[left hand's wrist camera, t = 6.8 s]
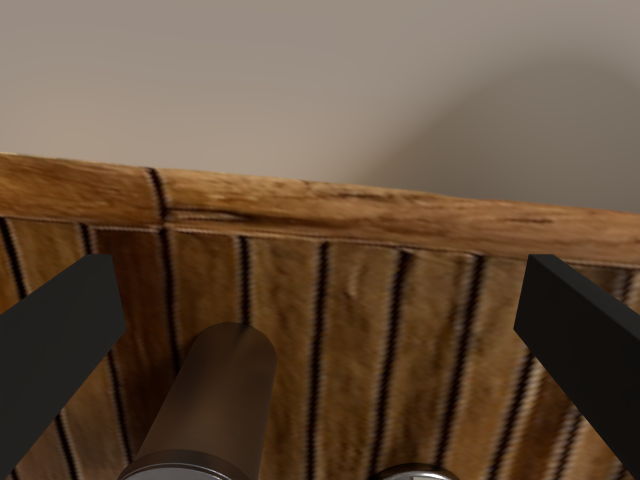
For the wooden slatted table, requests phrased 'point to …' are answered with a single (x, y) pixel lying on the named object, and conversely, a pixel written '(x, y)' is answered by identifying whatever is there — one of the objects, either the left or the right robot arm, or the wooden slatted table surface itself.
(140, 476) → the lid
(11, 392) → the left robot arm
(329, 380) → the wooden slatted table surface
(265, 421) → the jar
